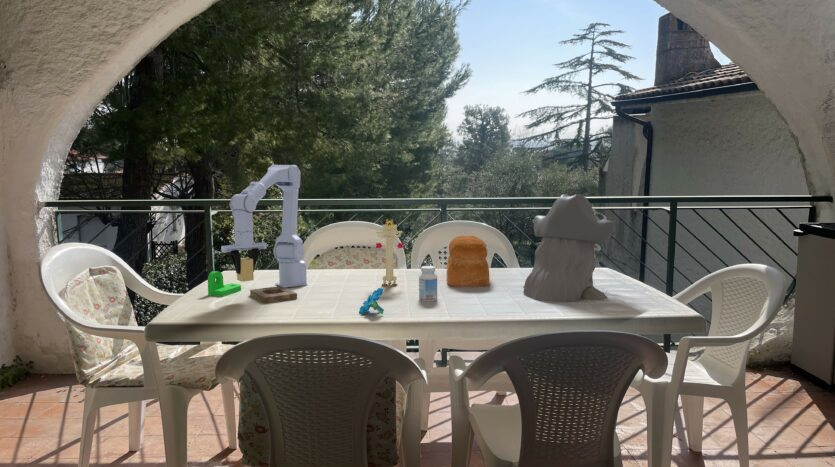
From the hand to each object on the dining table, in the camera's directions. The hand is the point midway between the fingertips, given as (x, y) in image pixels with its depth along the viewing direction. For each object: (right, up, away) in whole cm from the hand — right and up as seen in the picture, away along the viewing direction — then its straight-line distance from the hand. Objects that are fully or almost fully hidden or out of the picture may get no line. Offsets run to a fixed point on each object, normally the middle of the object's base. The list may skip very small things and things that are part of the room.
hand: (245, 272), depth 195 cm
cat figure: (+46, -7, +26) cm, 53 cm away
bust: (+107, -9, +12) cm, 108 cm away
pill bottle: (+60, -10, +3) cm, 61 cm away
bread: (+75, -6, +34) cm, 83 cm away
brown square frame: (+8, -9, +6) cm, 13 cm away
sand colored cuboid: (0, -3, 0) cm, 2 cm away
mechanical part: (-10, -8, +13) cm, 19 cm away
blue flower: (+40, -13, -15) cm, 45 cm away
